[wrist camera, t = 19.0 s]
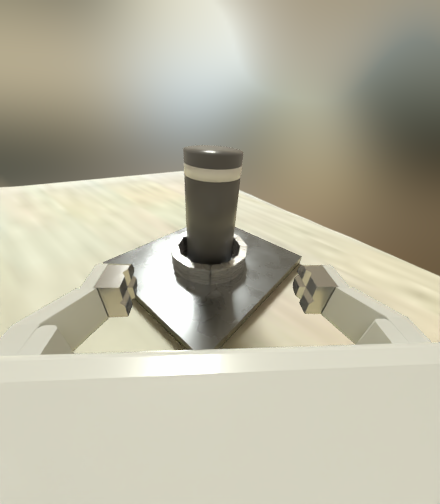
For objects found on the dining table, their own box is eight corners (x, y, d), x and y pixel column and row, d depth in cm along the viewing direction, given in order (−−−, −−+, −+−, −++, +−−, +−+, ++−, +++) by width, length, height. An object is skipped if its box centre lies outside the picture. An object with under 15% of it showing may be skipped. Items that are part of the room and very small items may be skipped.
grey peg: (210, 280, 22) (216, 158, 15) (178, 259, 24) (170, 147, 17) (239, 259, 25) (254, 152, 18) (208, 242, 28) (211, 143, 21)
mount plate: (203, 366, 15) (203, 343, 14) (105, 269, 24) (97, 247, 22) (299, 262, 27) (306, 243, 25) (211, 221, 35) (211, 205, 33)
